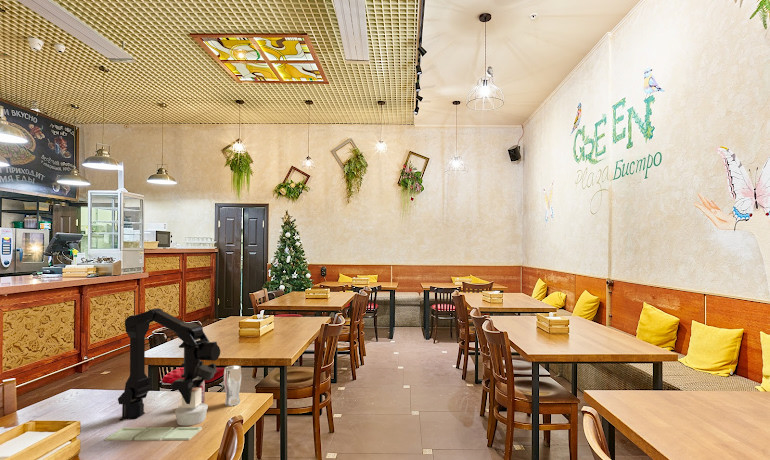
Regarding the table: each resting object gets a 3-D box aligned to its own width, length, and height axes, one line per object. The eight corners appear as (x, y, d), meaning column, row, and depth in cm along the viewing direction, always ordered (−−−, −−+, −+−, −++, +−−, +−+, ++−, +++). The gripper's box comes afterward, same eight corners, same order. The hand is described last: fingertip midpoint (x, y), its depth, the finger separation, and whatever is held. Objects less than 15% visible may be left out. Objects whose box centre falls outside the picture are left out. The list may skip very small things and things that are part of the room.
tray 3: (163, 441, 140) (163, 438, 140) (177, 430, 149) (177, 427, 149) (189, 441, 140) (189, 438, 140) (201, 429, 149) (201, 427, 149)
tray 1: (105, 441, 141) (105, 438, 141) (122, 430, 150) (122, 427, 150) (131, 441, 140) (131, 438, 140) (147, 430, 149) (147, 427, 149)
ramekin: (207, 414, 164) (207, 400, 164) (208, 424, 154) (208, 409, 154) (175, 419, 159) (175, 405, 159) (174, 430, 149) (174, 415, 149)
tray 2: (133, 441, 140) (134, 438, 140) (149, 430, 149) (149, 427, 149) (160, 441, 140) (160, 438, 140) (174, 430, 149) (174, 427, 149)
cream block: (181, 407, 154) (182, 391, 155) (188, 402, 159) (188, 387, 160) (195, 407, 154) (195, 391, 155) (201, 402, 159) (201, 386, 160)
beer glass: (230, 407, 170) (231, 370, 171) (220, 404, 174) (220, 368, 175) (244, 402, 176) (244, 366, 177) (234, 399, 180) (234, 364, 181)
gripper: (201, 365, 148) (201, 410, 147) (223, 353, 167) (223, 393, 166) (170, 366, 149) (170, 410, 148) (196, 353, 167) (195, 393, 166)
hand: (191, 401), depth 157 cm, fingers closed on cream block, 5 cm apart
